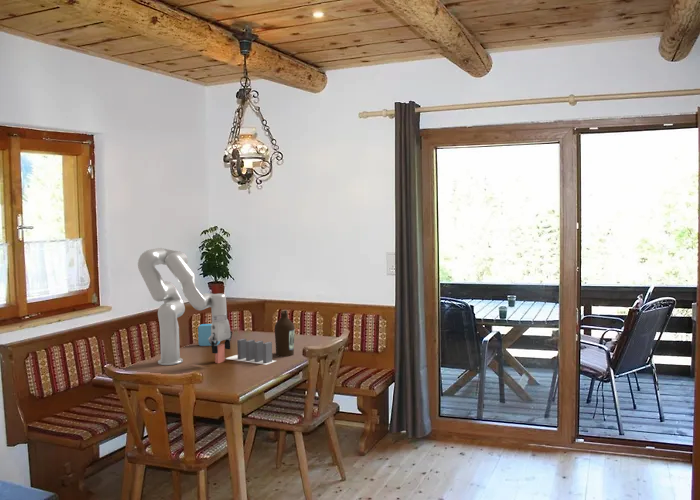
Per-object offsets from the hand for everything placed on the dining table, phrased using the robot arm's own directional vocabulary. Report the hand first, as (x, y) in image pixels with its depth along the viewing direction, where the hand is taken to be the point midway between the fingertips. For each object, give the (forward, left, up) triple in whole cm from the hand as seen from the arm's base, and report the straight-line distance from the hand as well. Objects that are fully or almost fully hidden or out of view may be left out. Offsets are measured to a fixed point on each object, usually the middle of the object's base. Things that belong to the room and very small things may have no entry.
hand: (221, 351), depth 333 cm
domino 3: (+8, +17, -6) cm, 20 cm away
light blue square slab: (-47, +9, -7) cm, 48 cm away
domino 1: (-1, +12, -6) cm, 13 cm away
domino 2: (+4, +14, -6) cm, 16 cm away
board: (+4, +14, -7) cm, 16 cm away
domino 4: (+13, +20, -6) cm, 25 cm away
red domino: (-1, -1, -7) cm, 7 cm away
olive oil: (+3, +34, -7) cm, 35 cm away
